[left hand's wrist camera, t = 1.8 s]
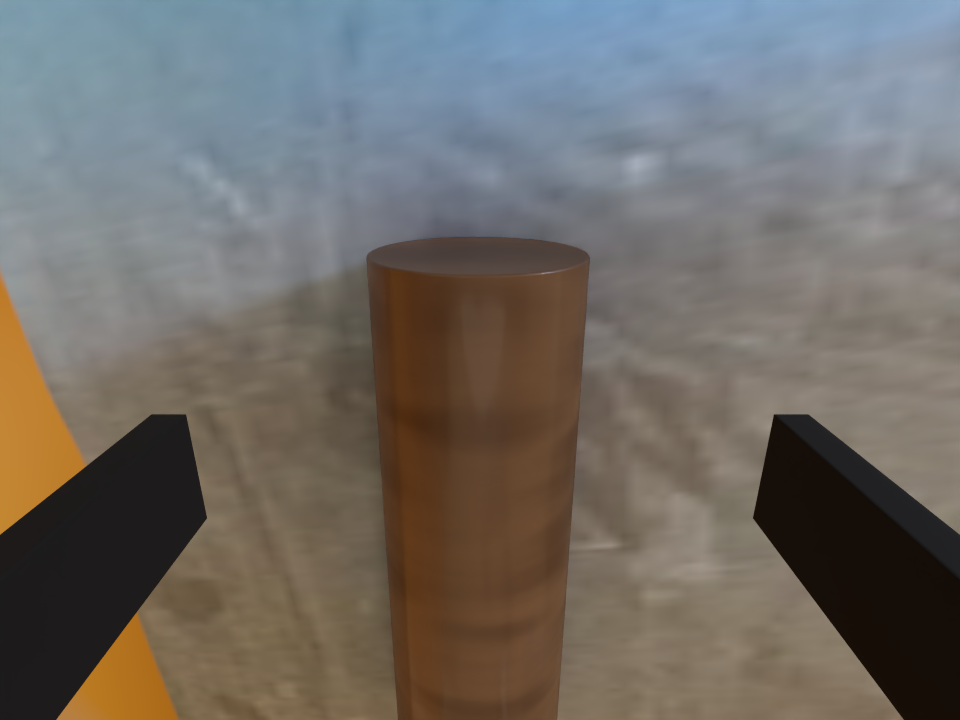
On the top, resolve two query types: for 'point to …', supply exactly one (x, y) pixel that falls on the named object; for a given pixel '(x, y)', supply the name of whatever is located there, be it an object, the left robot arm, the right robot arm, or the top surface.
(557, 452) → the rod
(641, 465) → the top surface
